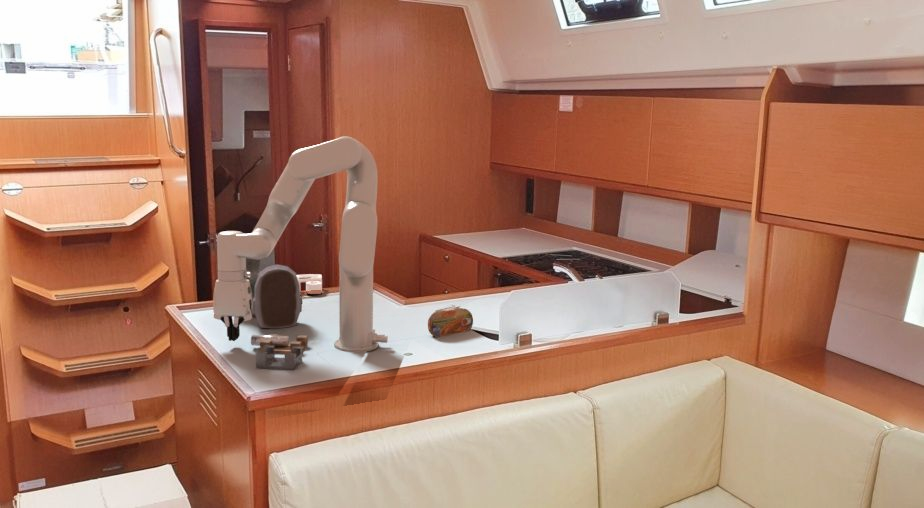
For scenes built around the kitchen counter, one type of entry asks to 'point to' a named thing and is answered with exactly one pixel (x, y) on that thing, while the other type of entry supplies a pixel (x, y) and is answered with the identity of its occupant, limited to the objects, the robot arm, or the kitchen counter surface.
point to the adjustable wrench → (448, 308)
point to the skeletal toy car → (311, 281)
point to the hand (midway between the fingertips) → (233, 339)
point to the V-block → (278, 359)
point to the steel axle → (275, 340)
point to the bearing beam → (283, 350)
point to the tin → (450, 322)
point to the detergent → (253, 275)
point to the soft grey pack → (277, 297)
